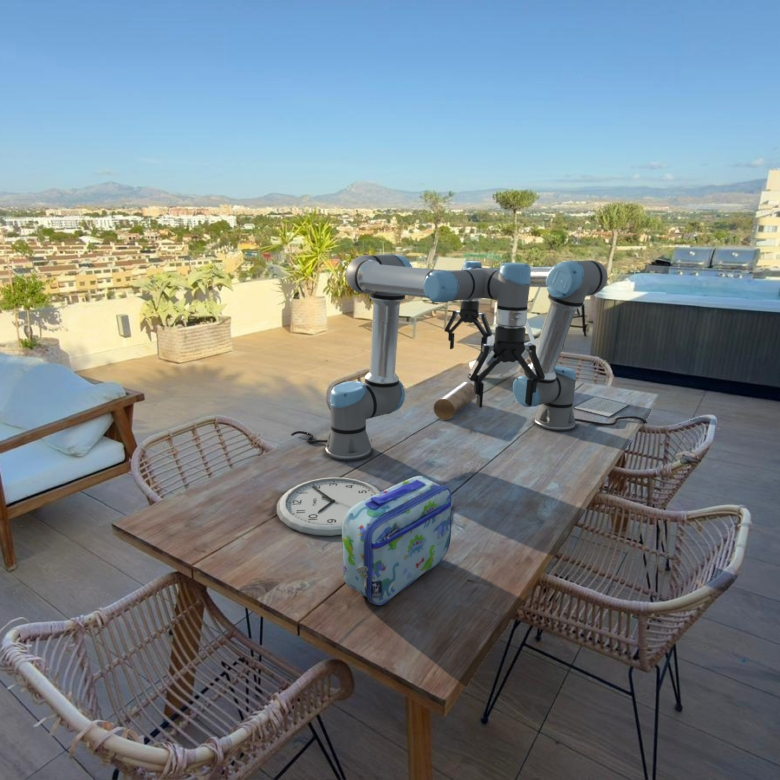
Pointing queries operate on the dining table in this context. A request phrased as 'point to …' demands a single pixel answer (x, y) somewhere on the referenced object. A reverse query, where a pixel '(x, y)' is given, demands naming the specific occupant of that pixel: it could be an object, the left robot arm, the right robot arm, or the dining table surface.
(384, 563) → the lunch box
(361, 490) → the wall clock
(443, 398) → the rod
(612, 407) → the invitation card
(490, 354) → the white plastic object
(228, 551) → the dining table surface
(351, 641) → the dining table surface
